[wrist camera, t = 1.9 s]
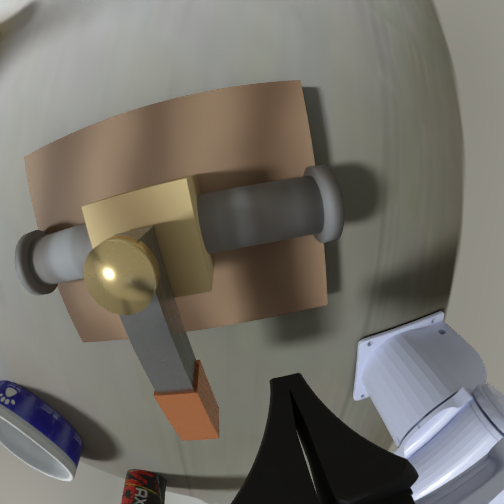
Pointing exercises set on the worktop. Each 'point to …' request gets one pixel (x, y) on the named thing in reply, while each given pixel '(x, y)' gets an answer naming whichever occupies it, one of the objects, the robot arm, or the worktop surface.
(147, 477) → the deodorant
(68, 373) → the worktop surface
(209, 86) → the worktop surface
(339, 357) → the worktop surface
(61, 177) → the valve board
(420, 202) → the worktop surface
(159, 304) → the valve lever
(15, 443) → the dog bowl
